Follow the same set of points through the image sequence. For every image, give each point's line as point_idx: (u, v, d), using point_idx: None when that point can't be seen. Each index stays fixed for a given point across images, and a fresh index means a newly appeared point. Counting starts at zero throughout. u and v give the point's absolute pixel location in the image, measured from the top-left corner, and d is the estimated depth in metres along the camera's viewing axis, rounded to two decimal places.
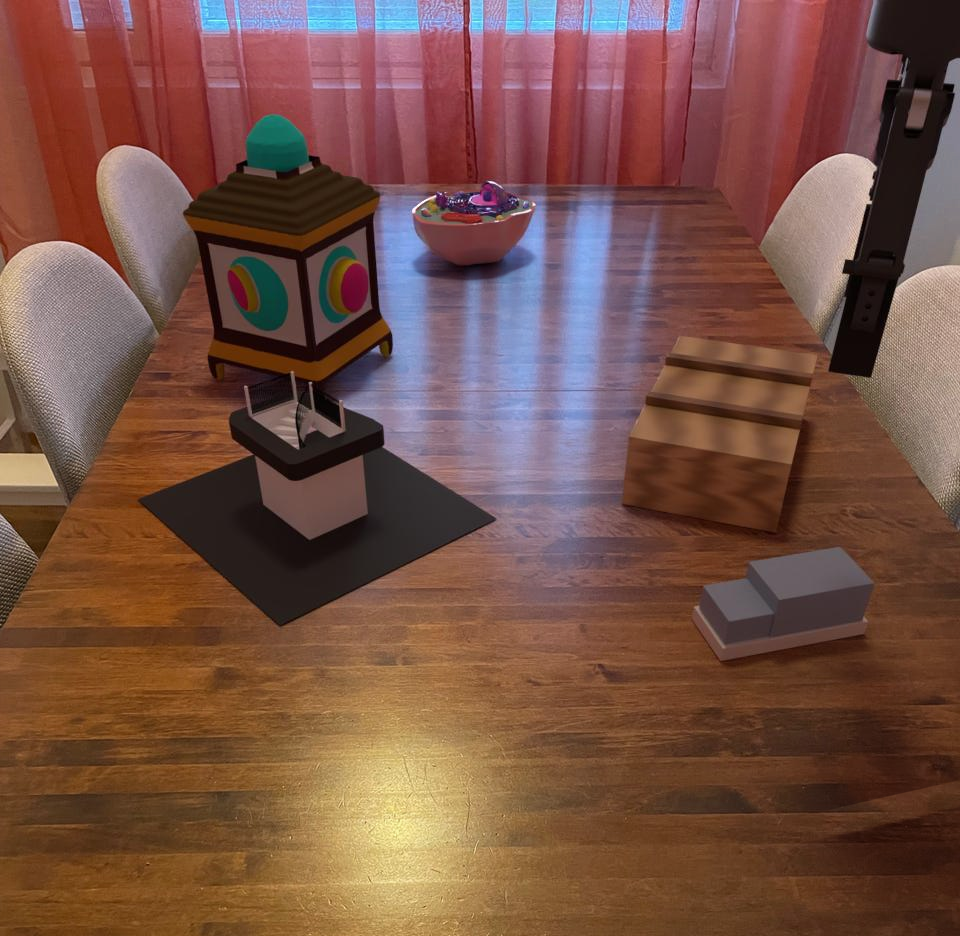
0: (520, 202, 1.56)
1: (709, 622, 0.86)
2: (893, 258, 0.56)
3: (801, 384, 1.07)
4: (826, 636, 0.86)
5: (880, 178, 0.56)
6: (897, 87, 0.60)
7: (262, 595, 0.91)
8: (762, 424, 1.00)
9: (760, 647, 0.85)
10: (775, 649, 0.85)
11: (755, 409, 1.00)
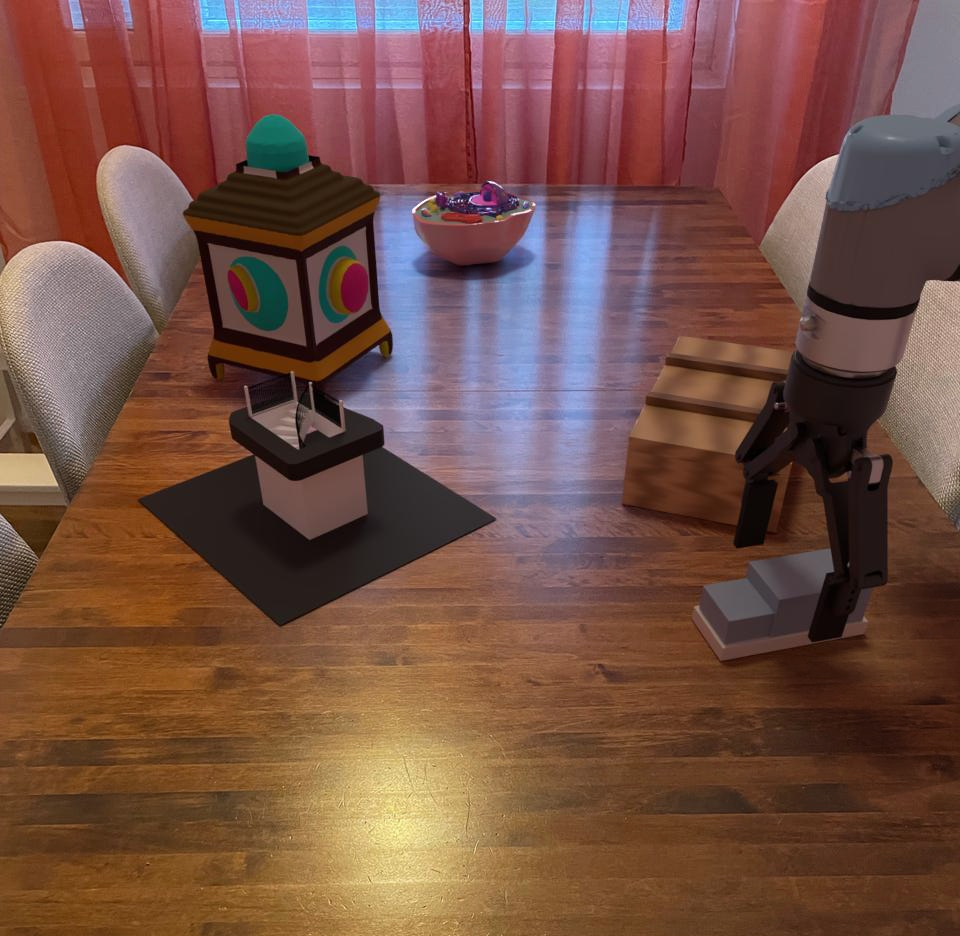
0: (520, 202, 1.56)
1: (709, 622, 0.86)
2: (879, 574, 0.73)
3: None
4: None
5: (859, 523, 0.71)
6: (805, 429, 0.76)
7: (262, 595, 0.91)
8: None
9: (760, 647, 0.85)
10: (775, 649, 0.85)
11: (755, 409, 1.00)
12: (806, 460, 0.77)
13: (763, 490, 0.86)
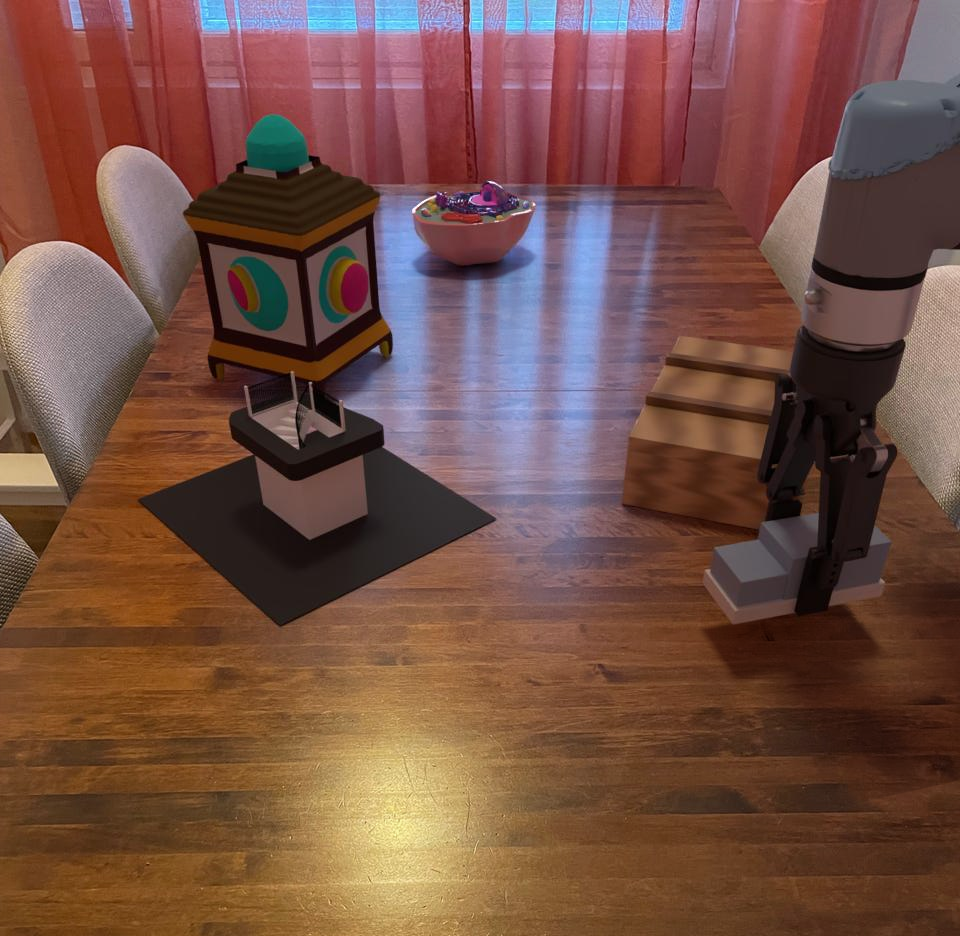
0: (520, 202, 1.56)
1: (721, 586, 0.83)
2: None
3: None
4: (842, 599, 0.83)
5: (852, 507, 0.72)
6: (813, 406, 0.74)
7: (262, 595, 0.91)
8: (762, 424, 1.00)
9: (773, 610, 0.82)
10: (789, 612, 0.83)
11: (755, 409, 1.00)
12: (814, 438, 0.75)
13: (787, 511, 0.83)
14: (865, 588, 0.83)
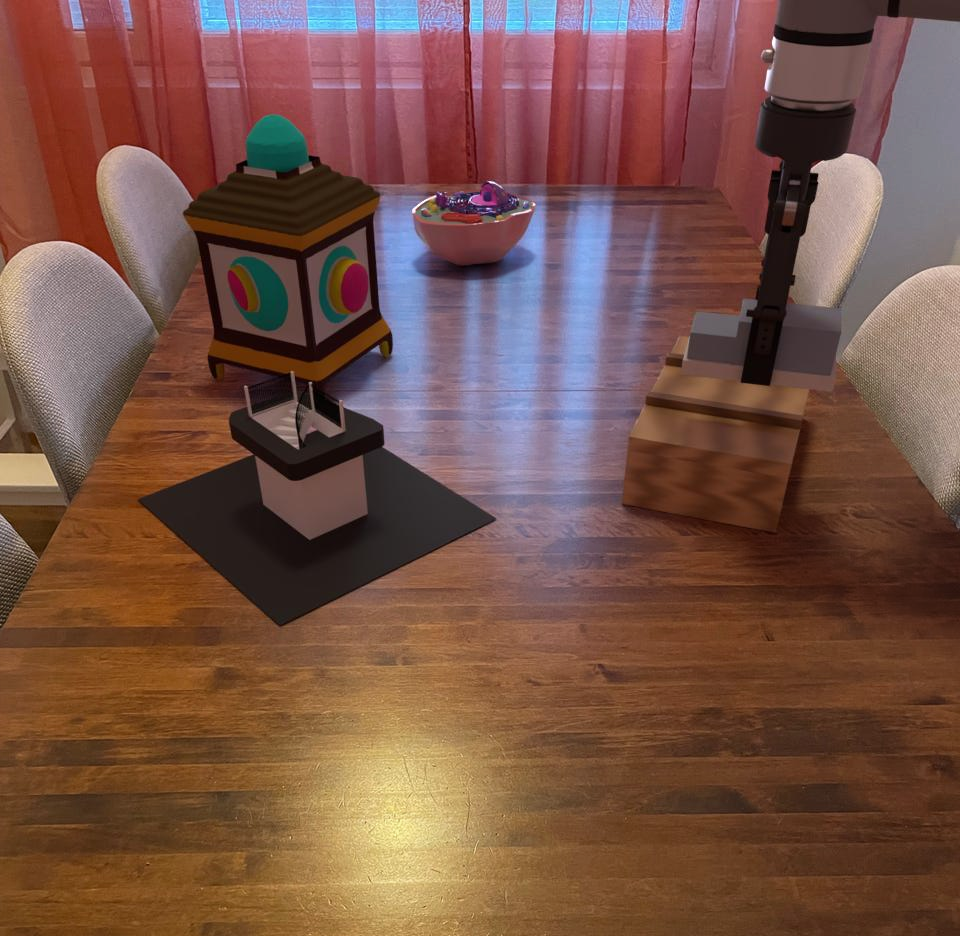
0: (520, 202, 1.56)
1: None
2: (778, 307, 0.84)
3: None
4: (790, 381, 0.91)
5: (766, 259, 0.82)
6: (779, 176, 0.84)
7: (262, 595, 0.91)
8: (762, 424, 1.00)
9: (720, 371, 0.92)
10: (736, 379, 0.92)
11: (755, 409, 1.00)
12: None
13: None
14: (814, 377, 0.90)
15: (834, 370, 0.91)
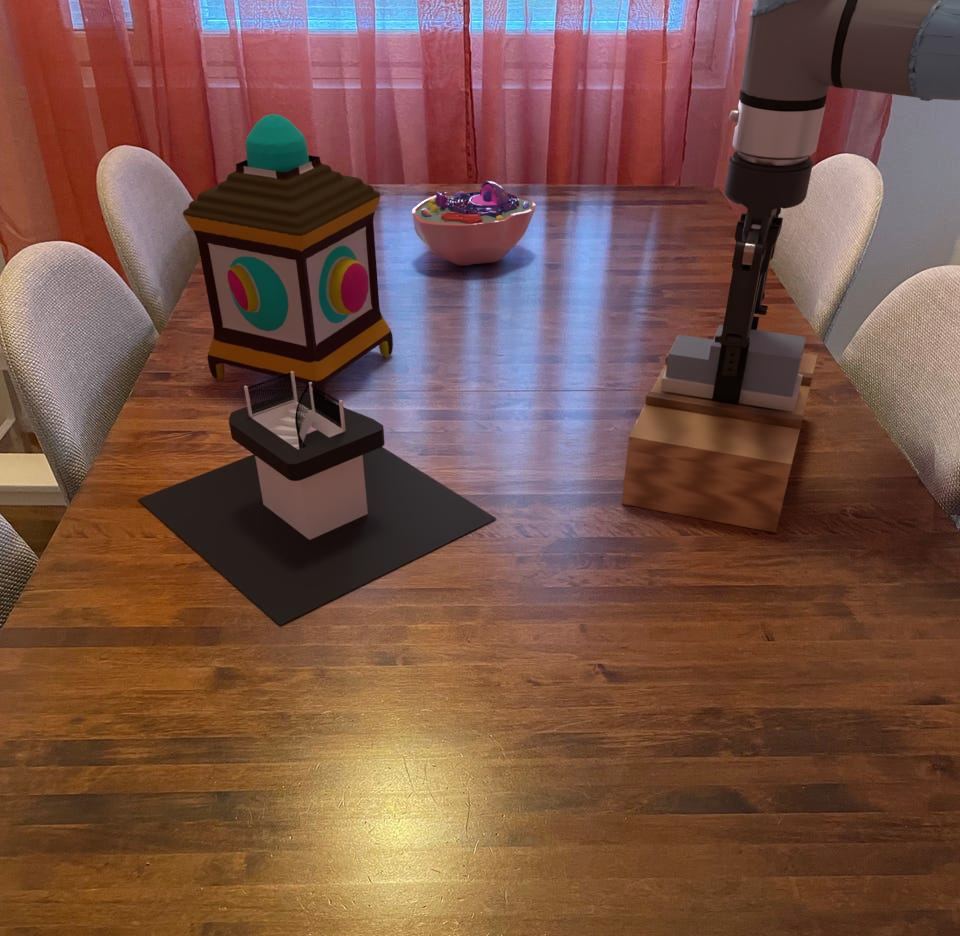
0: (520, 202, 1.56)
1: None
2: (741, 335, 0.95)
3: (801, 384, 1.07)
4: (756, 401, 1.02)
5: (729, 292, 0.93)
6: None
7: (262, 595, 0.91)
8: (762, 424, 1.00)
9: (694, 390, 1.03)
10: (708, 396, 1.03)
11: (755, 409, 1.00)
12: None
13: None
14: (777, 397, 1.01)
15: (796, 392, 1.01)
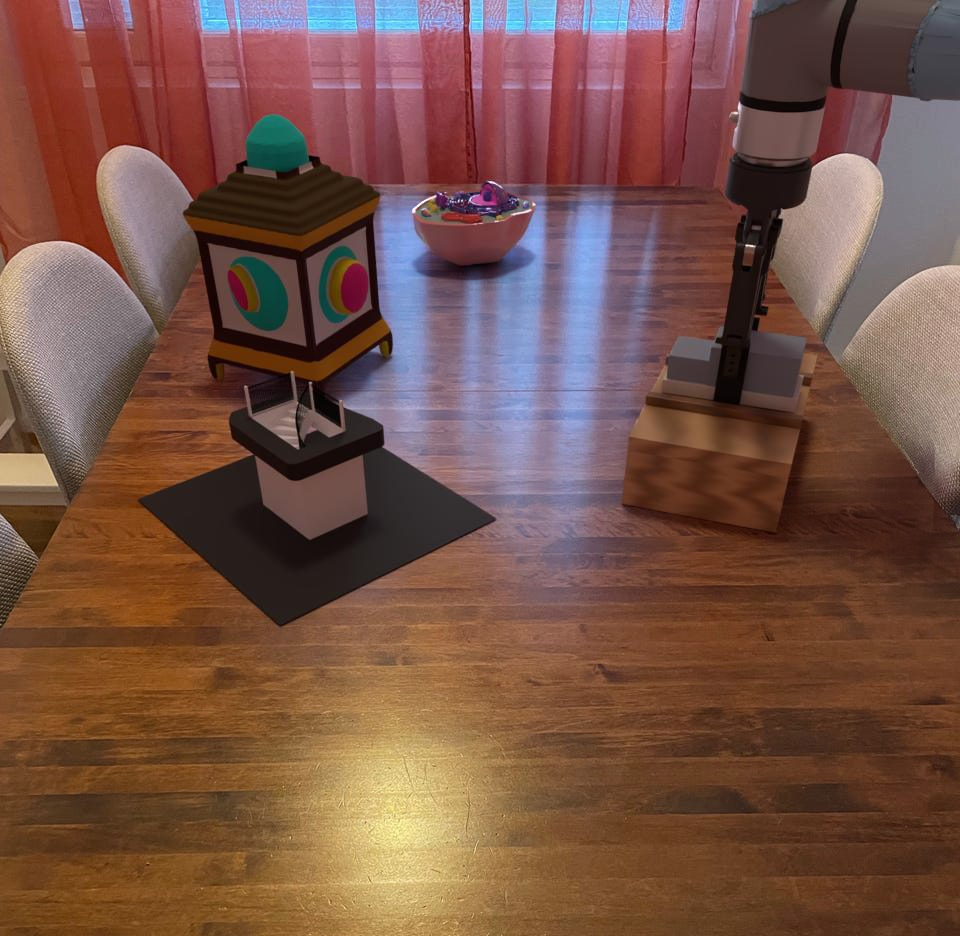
0: (520, 202, 1.56)
1: None
2: None
3: None
4: (757, 402, 1.02)
5: (730, 294, 0.93)
6: None
7: (262, 595, 0.91)
8: (762, 424, 1.00)
9: (695, 391, 1.03)
10: (709, 398, 1.03)
11: (755, 409, 1.00)
12: None
13: None
14: (778, 398, 1.01)
15: (797, 393, 1.01)
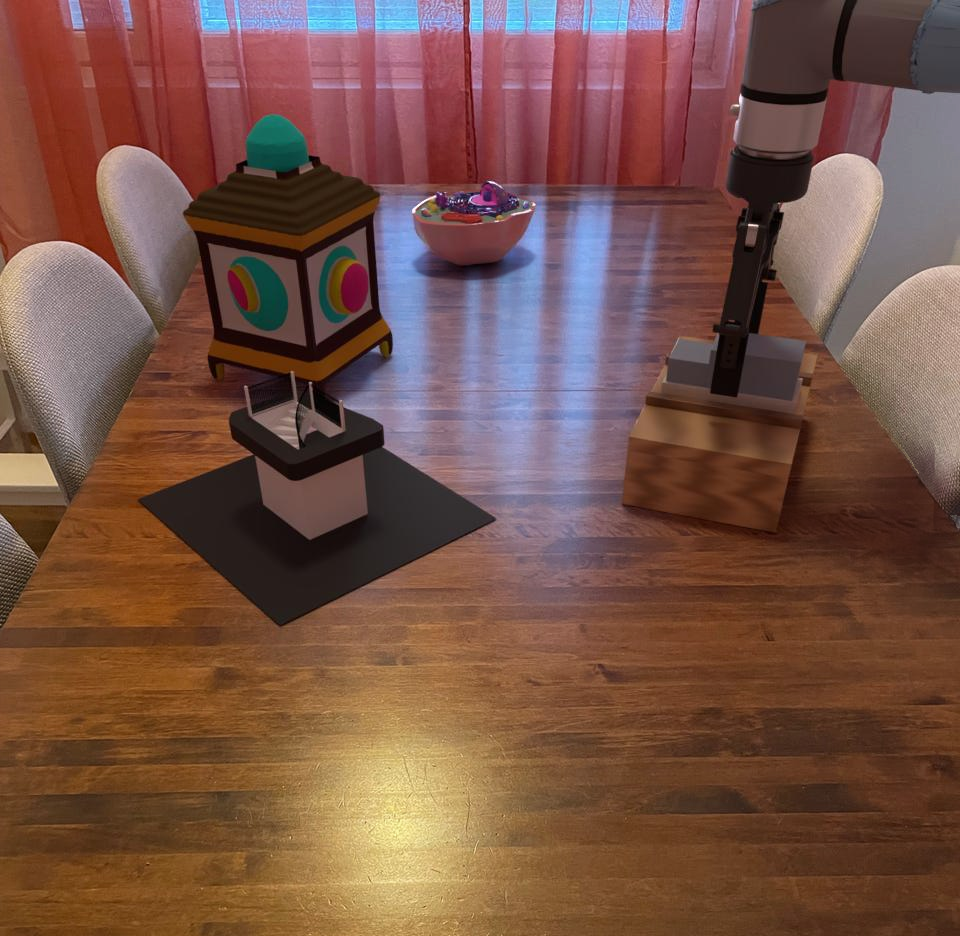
0: (520, 202, 1.56)
1: None
2: (740, 324, 0.91)
3: None
4: (756, 404, 1.02)
5: (730, 276, 0.90)
6: None
7: (262, 595, 0.91)
8: (762, 424, 1.00)
9: (695, 394, 1.04)
10: (709, 400, 1.04)
11: (755, 409, 1.00)
12: None
13: None
14: (777, 401, 1.01)
15: (797, 396, 1.01)
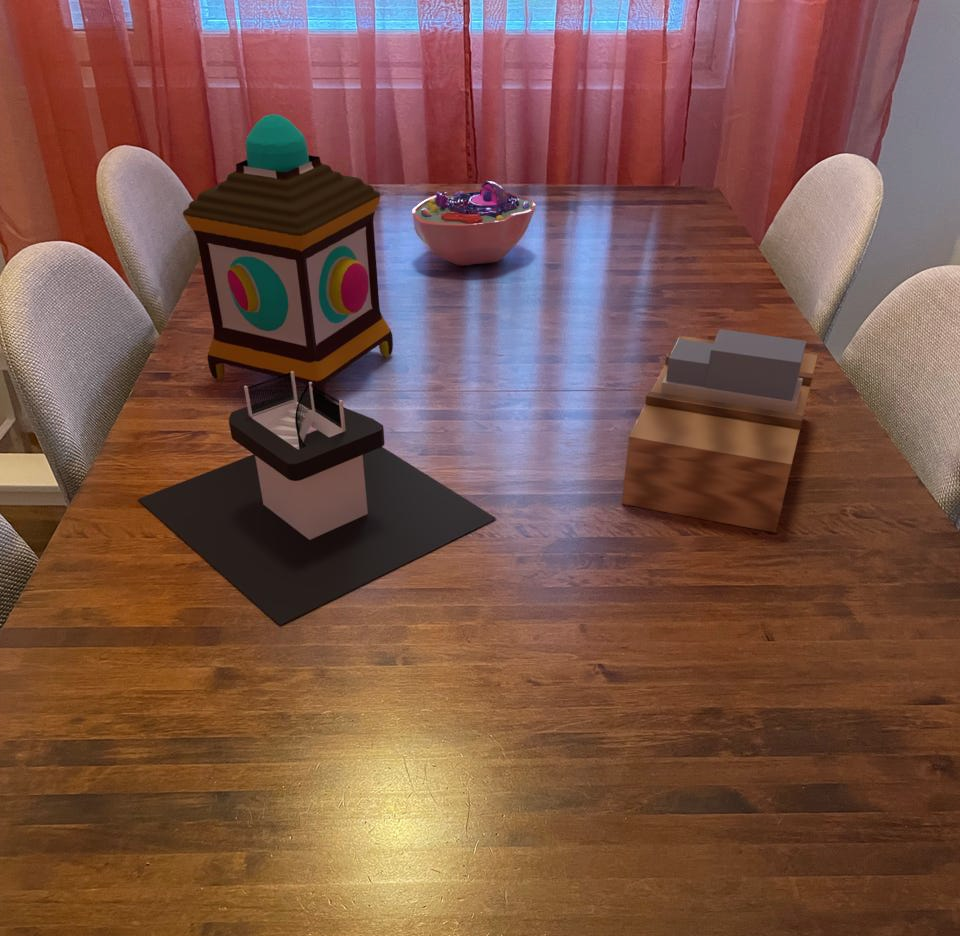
0: (520, 202, 1.56)
1: None
2: None
3: None
4: (756, 404, 1.02)
5: None
6: None
7: (262, 595, 0.91)
8: (762, 424, 1.00)
9: (695, 394, 1.04)
10: (709, 400, 1.04)
11: (755, 409, 1.00)
12: None
13: None
14: (777, 401, 1.01)
15: (797, 396, 1.01)
